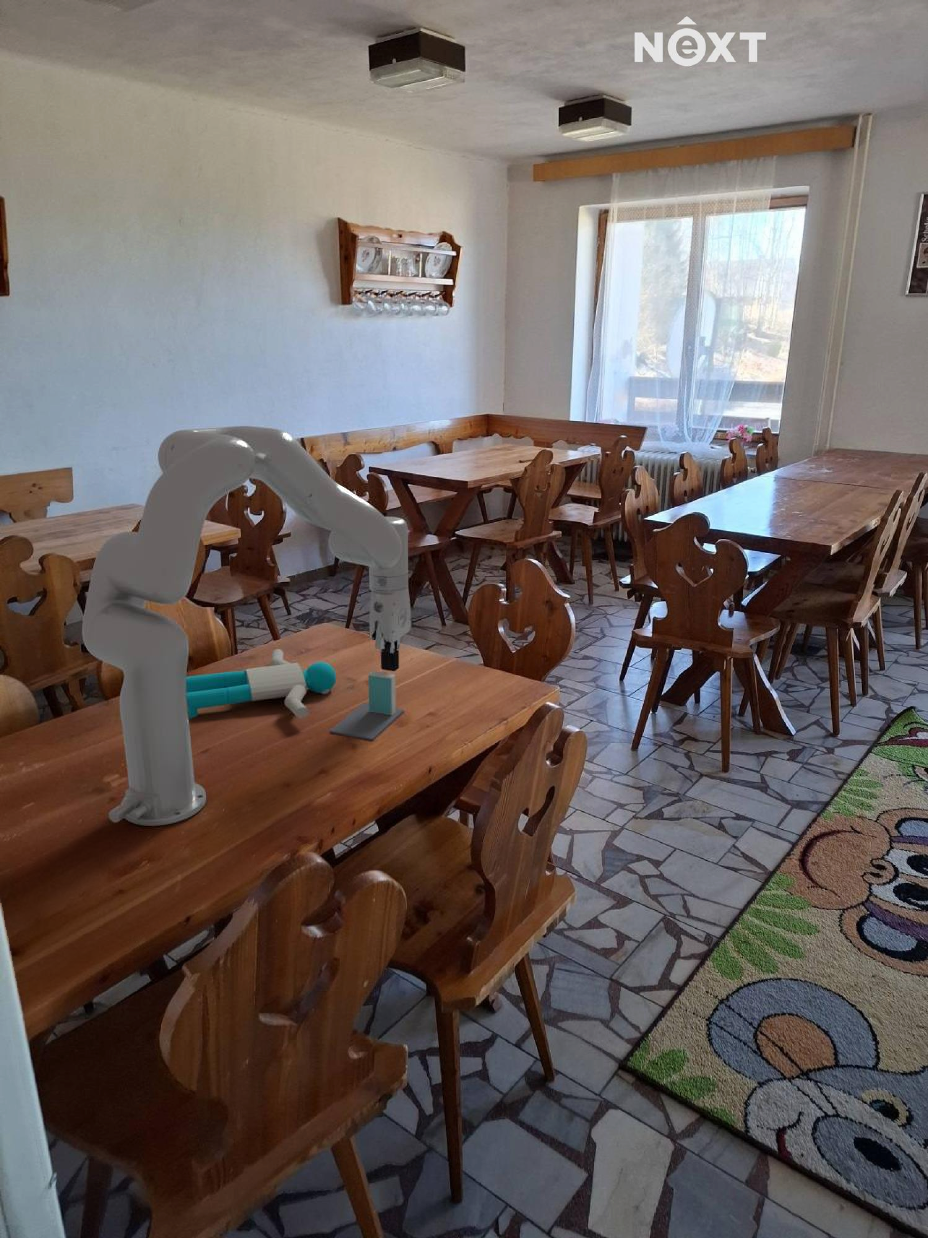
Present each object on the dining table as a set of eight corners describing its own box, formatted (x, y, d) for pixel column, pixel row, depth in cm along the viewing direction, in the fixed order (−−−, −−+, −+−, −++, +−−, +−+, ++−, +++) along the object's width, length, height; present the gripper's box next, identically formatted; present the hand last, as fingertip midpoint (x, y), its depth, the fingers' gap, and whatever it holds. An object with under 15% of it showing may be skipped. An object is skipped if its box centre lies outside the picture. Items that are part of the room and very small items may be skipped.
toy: (192, 746, 154) (354, 722, 164) (188, 713, 152) (352, 691, 161) (185, 679, 185) (321, 662, 194) (181, 651, 183) (320, 635, 192)
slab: (391, 716, 165) (391, 678, 163) (368, 712, 167) (367, 674, 164) (395, 712, 167) (395, 674, 164) (372, 708, 169) (371, 670, 166)
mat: (372, 740, 156) (372, 738, 156) (329, 732, 159) (329, 730, 159) (404, 711, 168) (404, 709, 168) (363, 704, 171) (363, 702, 171)
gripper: (389, 593, 157) (391, 685, 162) (421, 574, 170) (421, 659, 176) (353, 589, 159) (356, 679, 165) (387, 570, 172) (389, 654, 178)
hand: (390, 669), depth 170 cm, fingers closed
